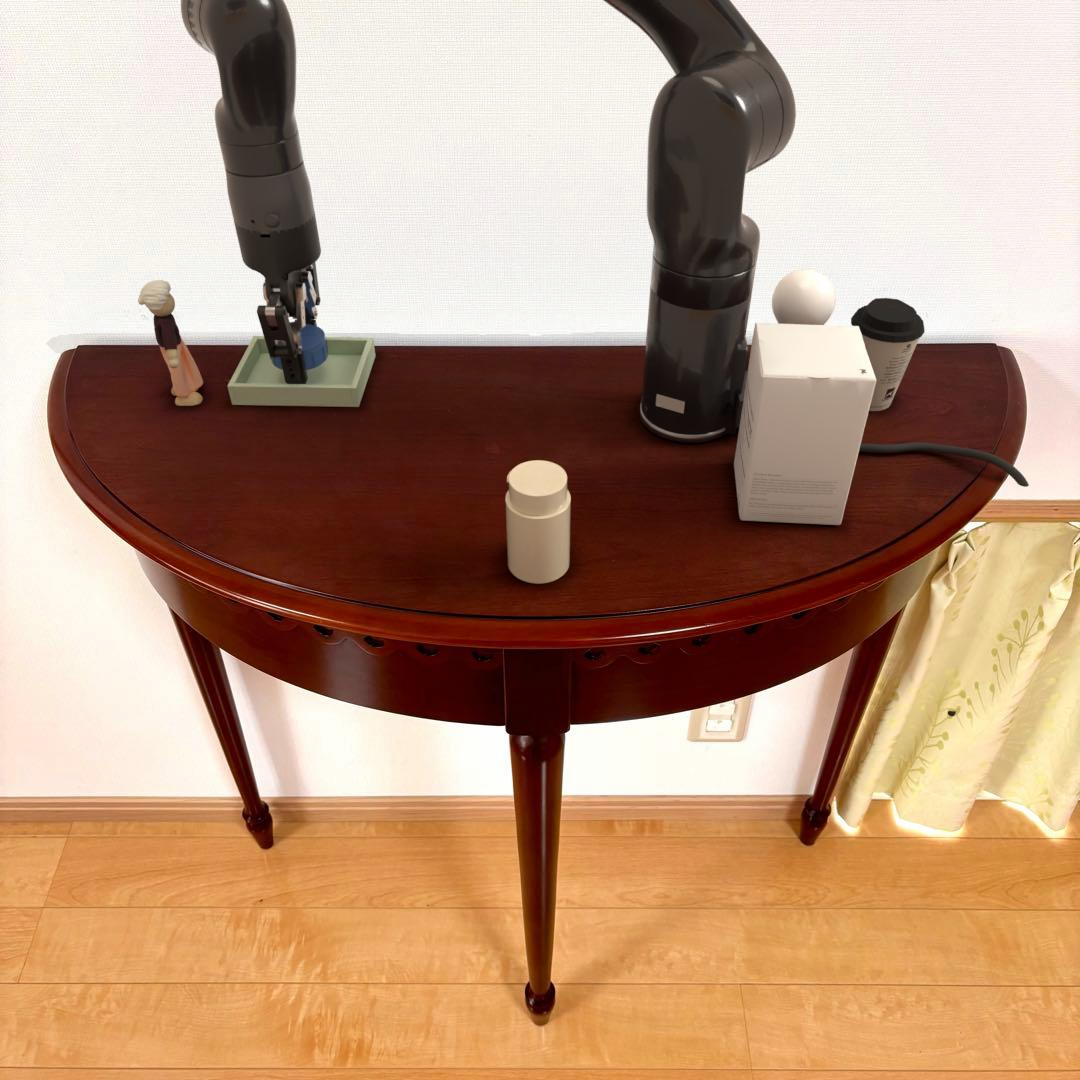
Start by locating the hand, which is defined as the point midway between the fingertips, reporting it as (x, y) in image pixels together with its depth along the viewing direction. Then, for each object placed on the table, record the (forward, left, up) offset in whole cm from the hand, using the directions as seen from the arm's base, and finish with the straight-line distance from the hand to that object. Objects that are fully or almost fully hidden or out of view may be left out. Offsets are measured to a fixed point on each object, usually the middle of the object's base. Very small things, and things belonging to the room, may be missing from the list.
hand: (303, 366), depth 101 cm
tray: (0, 0, -2) cm, 2 cm away
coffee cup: (-59, +2, -2) cm, 59 cm away
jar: (-26, +28, -2) cm, 38 cm away
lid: (0, 0, +3) cm, 3 cm away
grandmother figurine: (+12, +3, -2) cm, 12 cm away
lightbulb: (-52, -4, -2) cm, 52 cm away
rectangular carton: (-48, +18, -2) cm, 51 cm away
